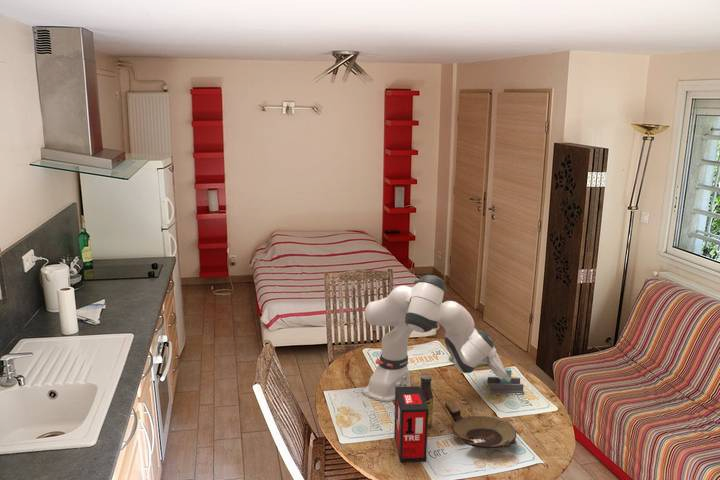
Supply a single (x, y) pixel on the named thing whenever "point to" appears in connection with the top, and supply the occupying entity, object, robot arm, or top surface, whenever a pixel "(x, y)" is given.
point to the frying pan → (482, 430)
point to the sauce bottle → (427, 395)
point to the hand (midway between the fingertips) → (507, 374)
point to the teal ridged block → (508, 371)
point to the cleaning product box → (410, 424)
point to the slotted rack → (504, 386)
